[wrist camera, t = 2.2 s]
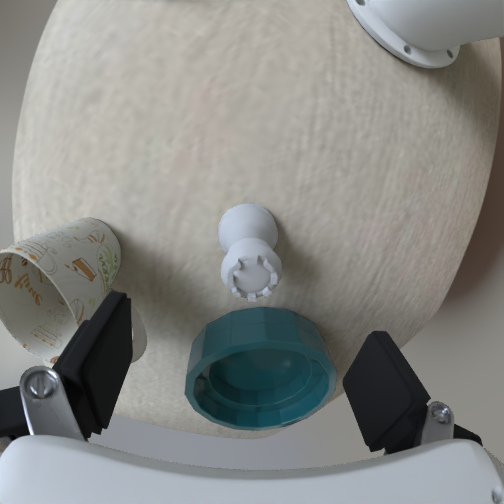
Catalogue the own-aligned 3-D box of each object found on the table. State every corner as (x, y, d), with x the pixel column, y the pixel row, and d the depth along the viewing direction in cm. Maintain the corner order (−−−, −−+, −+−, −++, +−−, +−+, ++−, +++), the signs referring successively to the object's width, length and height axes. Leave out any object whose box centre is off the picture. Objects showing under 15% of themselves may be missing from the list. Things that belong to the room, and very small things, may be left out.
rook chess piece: (282, 208, 20) (307, 248, 13) (269, 261, 22) (283, 321, 15) (223, 196, 20) (215, 231, 12) (214, 251, 21) (202, 310, 14)
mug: (84, 183, 19) (1, 220, 9) (190, 284, 23) (166, 373, 13) (46, 248, 21) (-18, 302, 11) (138, 333, 24) (106, 412, 15)
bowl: (199, 291, 23) (191, 328, 18) (343, 313, 25) (362, 347, 20) (187, 387, 28) (182, 422, 23) (298, 399, 30) (305, 431, 25)
